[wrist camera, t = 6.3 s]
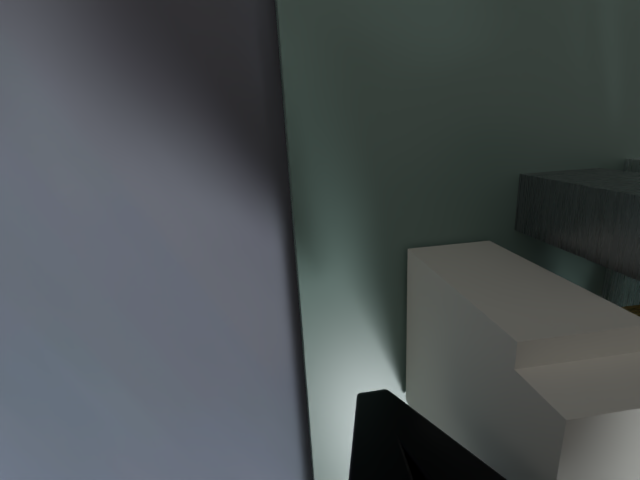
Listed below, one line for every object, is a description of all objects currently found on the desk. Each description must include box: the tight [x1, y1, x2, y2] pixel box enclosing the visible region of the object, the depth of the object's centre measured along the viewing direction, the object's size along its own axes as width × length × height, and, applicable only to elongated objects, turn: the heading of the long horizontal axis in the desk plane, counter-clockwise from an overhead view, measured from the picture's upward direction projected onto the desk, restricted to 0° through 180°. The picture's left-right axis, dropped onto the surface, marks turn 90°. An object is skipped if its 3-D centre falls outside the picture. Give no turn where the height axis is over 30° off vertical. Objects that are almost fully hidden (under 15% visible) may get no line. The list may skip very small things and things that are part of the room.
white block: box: [406, 241, 640, 480], centre depth 9 cm, size 5×4×6 cm
